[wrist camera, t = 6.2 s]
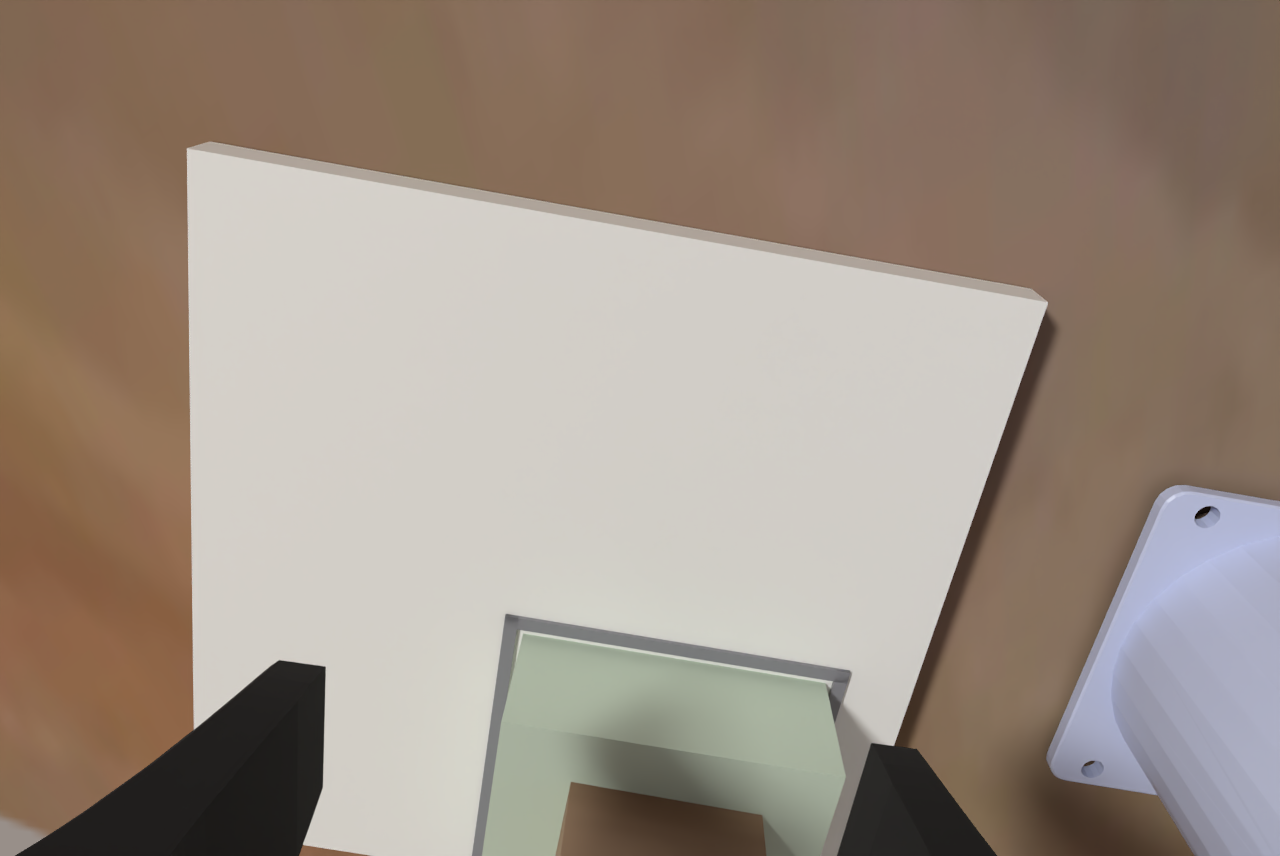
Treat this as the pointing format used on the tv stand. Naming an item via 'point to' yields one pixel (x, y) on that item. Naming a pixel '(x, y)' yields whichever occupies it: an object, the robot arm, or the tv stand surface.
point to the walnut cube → (653, 826)
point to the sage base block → (660, 743)
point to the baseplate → (559, 464)
